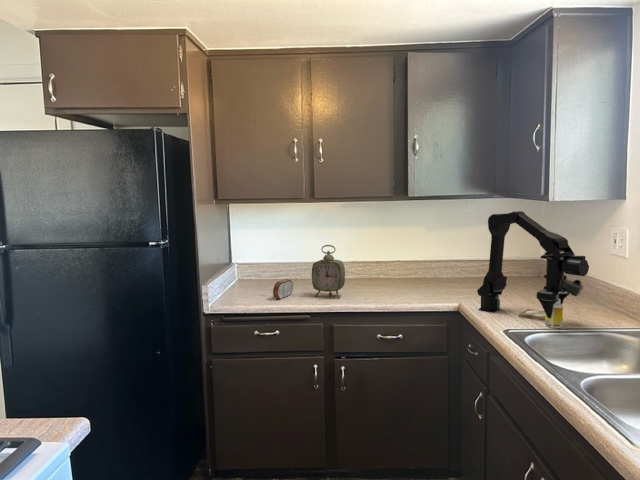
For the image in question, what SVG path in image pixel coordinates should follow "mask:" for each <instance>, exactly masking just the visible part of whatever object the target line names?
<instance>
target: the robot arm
mask: <svg viewBox="0 0 640 480" xmlns="http://www.w3.org/2000/svg"><path fill="white" fill-rule="evenodd" d="M513 224H516V225H518V226H519V227H520V228H522V229H523V230H524V231H525V232H527V233H528V234H529V235H531V236H532V237H533V238H535V239H536V240H537V241H538V244H539V246H540V247H541V248H542V249H543V250H544V254H543V255H540V259H544V260H546V261H545V265H546V266H545V274H544V275H543V278H544V279H545V285H544V286H543V288H542V289H540V290H539V291H537V292H536V299H537V301H539V303H540V304H541V307H542V309H543V311H545V313H546V315H547V317H548V318H551V317H552V312H553V307H554V304H555V303H556V302H557V301H559V300H558V298H560V299H561V300H560V301H561V302H560V304H562V305H563V304H564V301H565V299H566V298H567V297H568V296H570V295H572V296H573V297H578V296H579V295H580V294H581V291H582V290H584V286H583V284H582V280H580V279H575V280H569V279H567V278H568V277H567V275H572V276H578V277H579V276H580V277H586V275H588V272H589V269H590V265H589V262H588V260H587V259H586V255H576V254H575V253H574V251H573V250H572V248H571V247H570V245H569V240H568V239H567V238H566V237H564V236H562V235H561V234H558V233H555V232H553V231H550V230H548V229H546V228H544V227H543V226H542V225H541V224H539V223H538V222H537V221H536V220H534V219H532V218H531V217H530V216H528V215H527V214H526V213H525V212H524V211H522V210H515V211H512V212H508V213H493V214H491V215H490V216H488V219H487V226H488V231H489V233H490V235H491V239H490V249H489V252H490V253H489V261H488V271H487V272H486V274H485V275H484V278H483V282H482V285H481V286H480V287H479V288H478V289H477V290H476V291H477V292H476V293H477V295H478V296H479V297H480V307H479V308H478V310H479V311H483V312H484V311H485V312H490V313H496V312H497V311H500V310H501V299H499V297H500V296H502V293H503V291H504V290H505V289H506V287H507V286H508V285H507V279H508V277H507V276H506V275H504V273H503V262H504V261H503V260H504V249H505V241H506V240H505V238H506V235H507V234H508V232H509V230H510V227H511V225H513Z"/></svg>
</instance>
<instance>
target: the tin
mask: <svg viewBox="0 0 640 480" xmlns="http://www.w3.org/2000/svg"><path fill="white" fill-rule="evenodd" d="M293 287H294V283H293V281H292V280H291V279H287V278H284V279H282V280H278V281H276V282H275V284H274V286H273V289H272V294H273V298H274V299H276V300H283V299H285V298H287V297H290V296H291V295H292V293H293Z"/></svg>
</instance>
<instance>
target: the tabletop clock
mask: <svg viewBox="0 0 640 480" xmlns="http://www.w3.org/2000/svg"><path fill="white" fill-rule="evenodd" d="M325 247H331V248H333V249H334V251H332V252H331V251H330V250H327V252H326V251H323V249H324V248H325ZM320 250H321V253H323V254H325V255H324V256H323V258H322V259H320V260H317V261H315V262H313V263H312V268H311V282H312V287H313V290H316V291H318V292H317V293H316V294H315V297H316V298H318V297H319V294H320V293H321V292H326V293H327V292H329V293H328V296H329V297H331V296H332V295H333V293H332V292H335V293H336V295H337V296H336V298H337V299H341V295H340V294H339V290H341V289H342V288H343V287H344V286H345V282H346V270H345V263H344V262H343V261H342V260H341V259H335V258H334V255H332V254H334V253H335V252H336V247H335V246H334V245H332V244H325V245H322V247H321V249H320Z"/></svg>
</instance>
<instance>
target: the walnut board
mask: <svg viewBox="0 0 640 480" xmlns="http://www.w3.org/2000/svg"><path fill="white" fill-rule="evenodd" d="M518 317H519V318H524V319H530V320H535V321H541V322H545V311H544V310H538V309H531V308H527V309H526V310H523V311H522V312H520V313H518Z"/></svg>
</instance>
